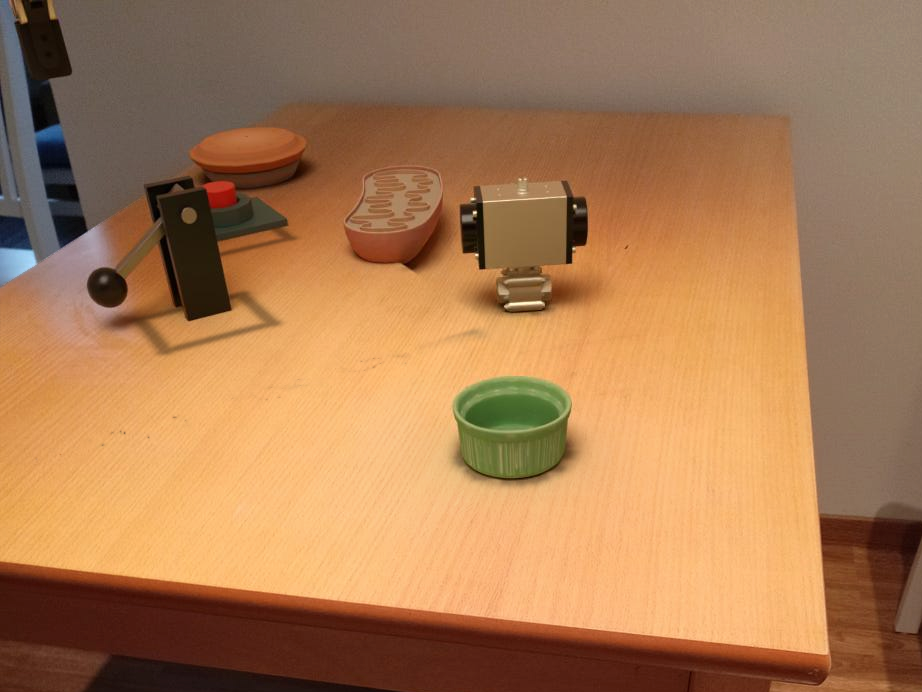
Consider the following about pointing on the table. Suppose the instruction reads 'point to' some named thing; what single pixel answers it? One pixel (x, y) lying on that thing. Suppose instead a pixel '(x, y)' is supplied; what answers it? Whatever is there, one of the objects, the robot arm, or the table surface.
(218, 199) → the button
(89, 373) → the table surface
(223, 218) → the button box
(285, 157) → the pie
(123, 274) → the lever
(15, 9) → the robot arm
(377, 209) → the anatomical model
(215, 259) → the bracket
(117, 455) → the table surface
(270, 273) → the table surface
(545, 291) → the pneumatic valve
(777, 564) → the table surface
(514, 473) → the ramekin
